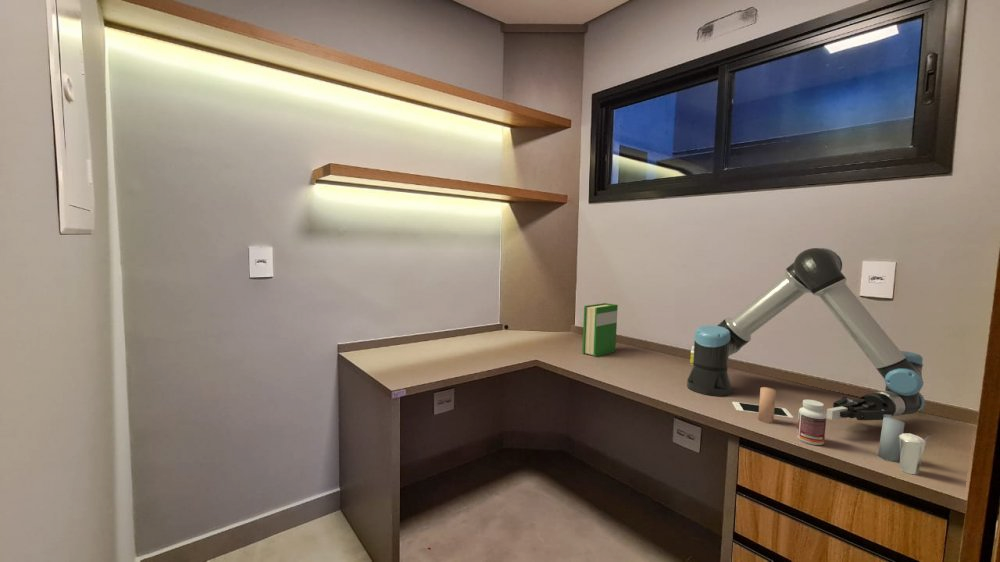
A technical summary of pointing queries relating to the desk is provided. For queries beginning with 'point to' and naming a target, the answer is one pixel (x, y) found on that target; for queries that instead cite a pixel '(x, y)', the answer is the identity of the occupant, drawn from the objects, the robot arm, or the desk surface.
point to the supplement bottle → (692, 356)
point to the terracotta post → (766, 404)
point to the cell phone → (755, 409)
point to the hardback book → (599, 329)
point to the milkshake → (911, 452)
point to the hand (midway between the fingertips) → (829, 414)
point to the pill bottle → (811, 423)
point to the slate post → (890, 439)
